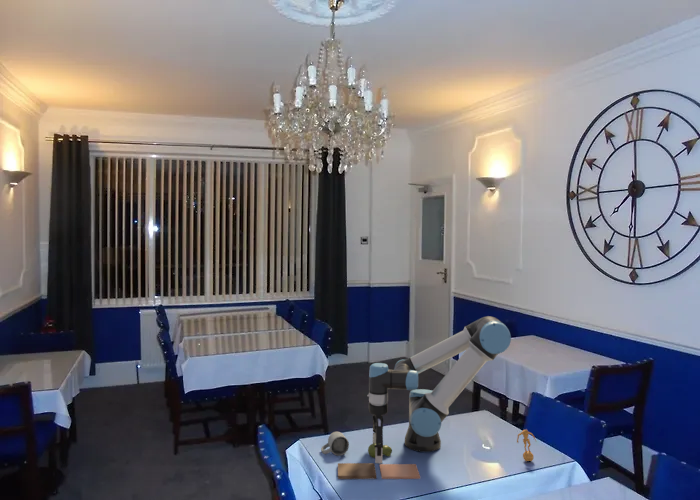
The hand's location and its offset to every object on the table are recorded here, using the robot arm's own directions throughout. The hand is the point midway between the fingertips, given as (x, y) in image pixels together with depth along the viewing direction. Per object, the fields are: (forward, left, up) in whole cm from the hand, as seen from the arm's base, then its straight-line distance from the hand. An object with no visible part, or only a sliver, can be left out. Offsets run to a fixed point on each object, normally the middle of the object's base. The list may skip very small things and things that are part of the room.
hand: (377, 455), depth 208 cm
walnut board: (+9, +14, 0) cm, 17 cm away
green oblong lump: (-1, 0, 0) cm, 1 cm away
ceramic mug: (+17, -4, 0) cm, 17 cm away
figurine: (-59, +4, 0) cm, 59 cm away
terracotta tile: (-7, +14, 0) cm, 16 cm away
